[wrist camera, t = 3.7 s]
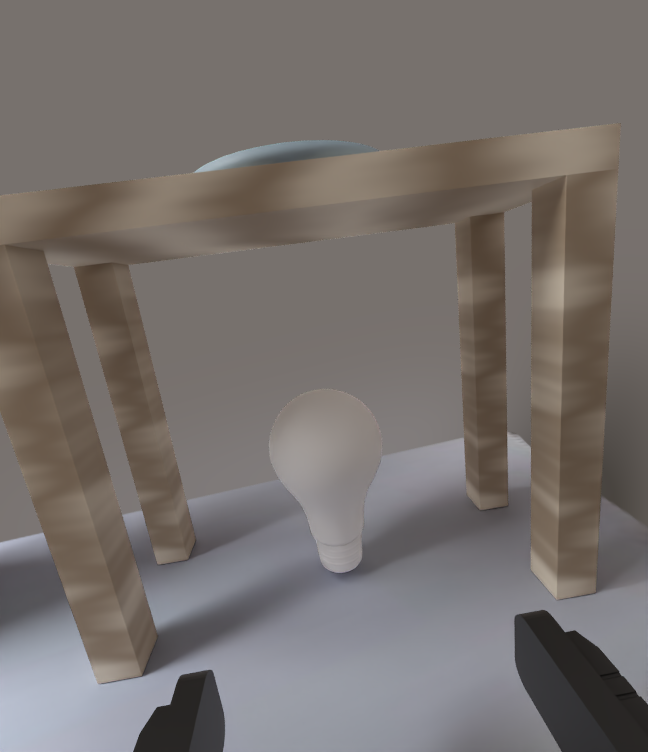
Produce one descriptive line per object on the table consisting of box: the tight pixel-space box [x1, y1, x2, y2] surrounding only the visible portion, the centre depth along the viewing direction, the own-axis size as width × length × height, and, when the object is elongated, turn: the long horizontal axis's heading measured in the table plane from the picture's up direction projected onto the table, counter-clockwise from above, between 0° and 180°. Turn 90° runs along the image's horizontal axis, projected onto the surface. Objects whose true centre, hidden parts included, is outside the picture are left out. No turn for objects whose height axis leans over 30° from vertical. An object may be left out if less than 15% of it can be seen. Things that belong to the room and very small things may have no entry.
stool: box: [0, 123, 621, 684], centre depth 19 cm, size 24×10×21 cm, turn 95°
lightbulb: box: [269, 389, 383, 573], centre depth 20 cm, size 6×6×11 cm
